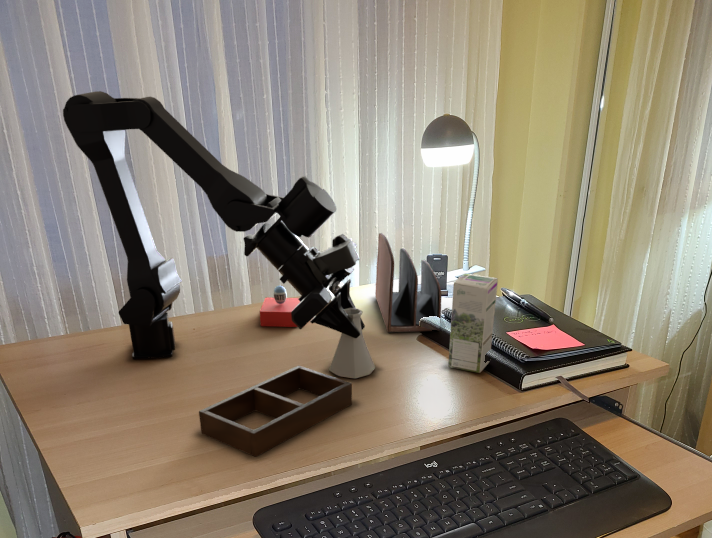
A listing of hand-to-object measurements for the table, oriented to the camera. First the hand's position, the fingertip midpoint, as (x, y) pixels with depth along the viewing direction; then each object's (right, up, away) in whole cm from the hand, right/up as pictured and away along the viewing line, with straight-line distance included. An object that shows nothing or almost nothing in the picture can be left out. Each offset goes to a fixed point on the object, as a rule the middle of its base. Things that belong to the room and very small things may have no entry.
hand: (360, 332), depth 122 cm
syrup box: (+18, -4, +6) cm, 20 cm away
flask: (-2, -6, +4) cm, 7 cm away
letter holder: (+8, +9, +27) cm, 30 cm away
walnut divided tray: (-12, -15, -11) cm, 22 cm away
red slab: (-16, +8, +24) cm, 30 cm away
